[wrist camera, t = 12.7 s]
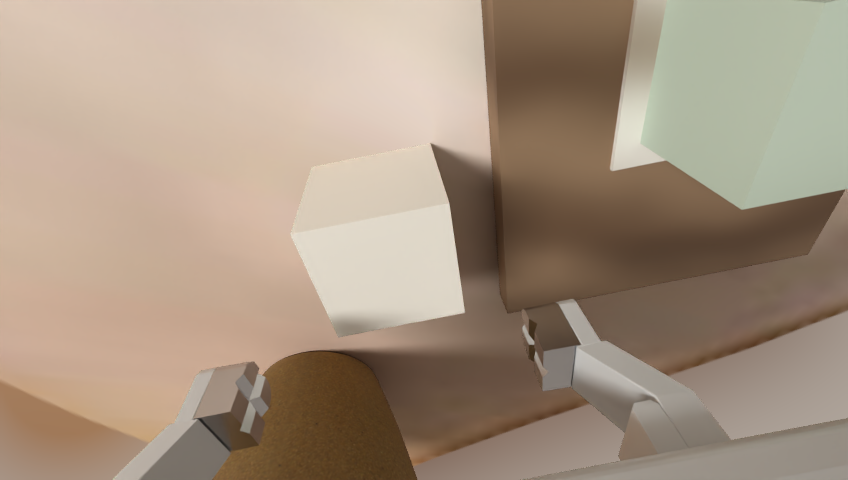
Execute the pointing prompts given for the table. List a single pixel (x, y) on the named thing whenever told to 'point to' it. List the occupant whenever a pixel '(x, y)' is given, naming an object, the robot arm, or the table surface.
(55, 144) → the table surface
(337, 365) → the plant pot
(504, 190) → the board
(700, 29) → the sage green block
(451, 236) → the cream block
